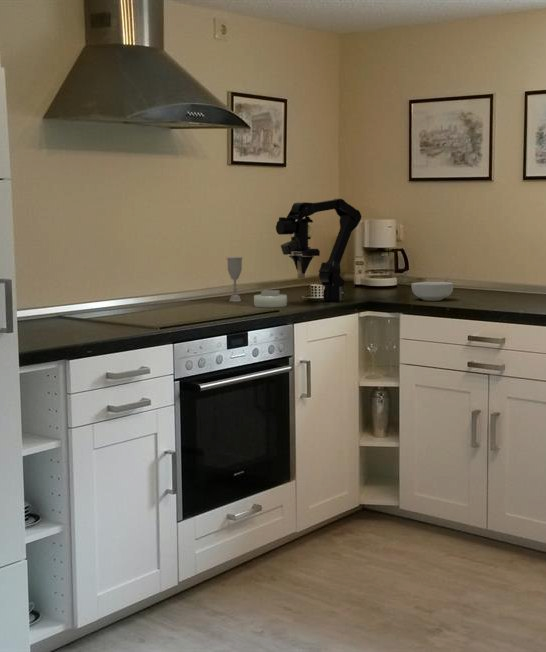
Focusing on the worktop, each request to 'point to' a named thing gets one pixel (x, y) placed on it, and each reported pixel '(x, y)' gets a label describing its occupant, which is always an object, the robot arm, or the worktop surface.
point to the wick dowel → (299, 270)
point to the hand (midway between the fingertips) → (301, 273)
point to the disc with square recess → (270, 299)
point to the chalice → (234, 273)
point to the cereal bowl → (432, 290)
